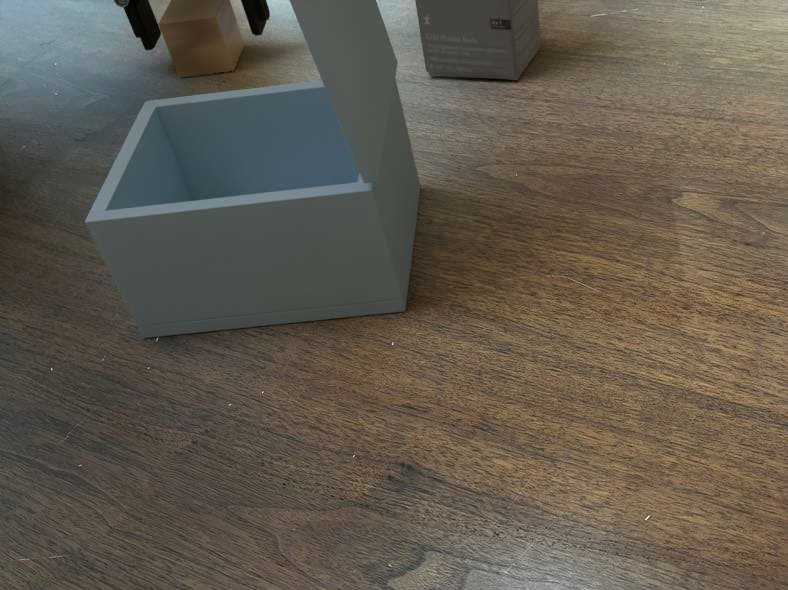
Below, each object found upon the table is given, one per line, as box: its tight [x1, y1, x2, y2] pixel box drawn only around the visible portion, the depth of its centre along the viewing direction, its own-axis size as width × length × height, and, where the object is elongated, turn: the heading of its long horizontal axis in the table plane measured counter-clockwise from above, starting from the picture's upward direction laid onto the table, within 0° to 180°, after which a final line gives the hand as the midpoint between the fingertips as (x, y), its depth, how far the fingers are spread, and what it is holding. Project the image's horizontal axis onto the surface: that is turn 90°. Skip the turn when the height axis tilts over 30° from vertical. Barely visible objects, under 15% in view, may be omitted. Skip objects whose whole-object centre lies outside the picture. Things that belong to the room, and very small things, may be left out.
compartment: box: [84, 78, 422, 339], centre depth 70 cm, size 17×14×9 cm
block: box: [158, 0, 245, 79], centre depth 95 cm, size 5×5×5 cm
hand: (207, 35), depth 95 cm, fingers open, 9 cm apart
